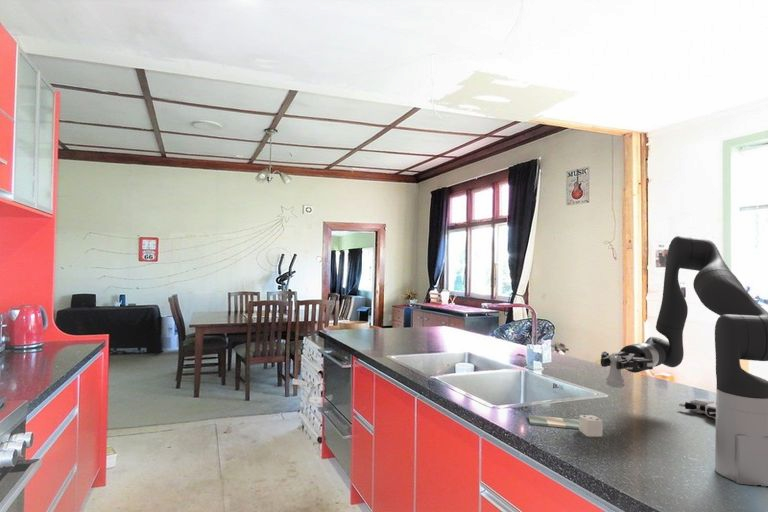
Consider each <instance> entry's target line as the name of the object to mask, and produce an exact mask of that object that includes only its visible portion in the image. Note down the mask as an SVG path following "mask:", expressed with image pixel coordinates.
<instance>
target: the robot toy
mask: <svg viewBox="0 0 768 512" xmlns="http://www.w3.org/2000/svg"><path fill="white" fill-rule="evenodd" d="M689 401H690V402H688V401H687V402H684V403H683V402H680V403H679V404H678V406H679V407H682V408H683V407H684V408H685V410H689V411H690V410H691V411H694V412H695V413H697V414H700V415H701V414H705V415H706V416H708V417H710V418H713V419H714V420H715V421H716V402H714V401H713V400H709V399H705V398H695V399H693V400H692V399H690V400H689Z"/></svg>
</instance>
